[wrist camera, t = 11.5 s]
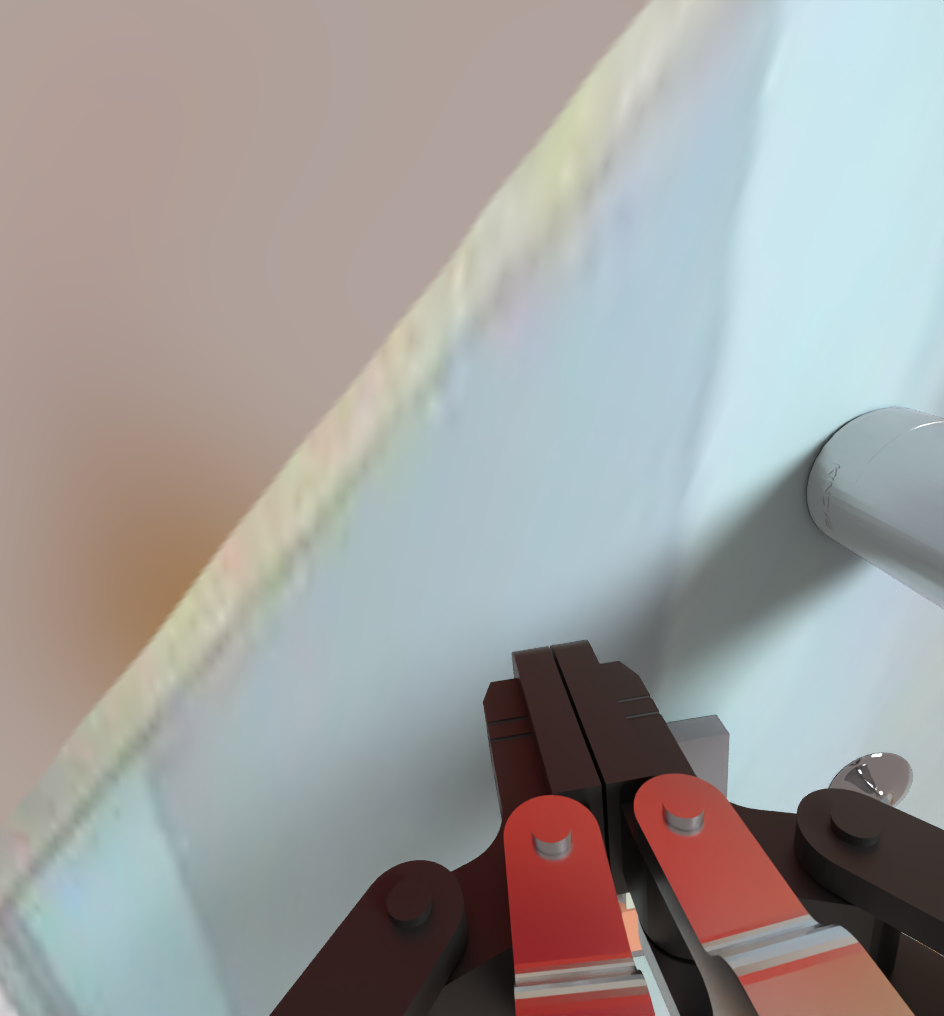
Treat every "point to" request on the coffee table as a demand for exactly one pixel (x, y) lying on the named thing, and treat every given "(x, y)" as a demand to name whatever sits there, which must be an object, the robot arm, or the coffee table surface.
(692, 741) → the button board
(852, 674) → the coffee table surface
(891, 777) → the wine glass
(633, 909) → the terracotta button
